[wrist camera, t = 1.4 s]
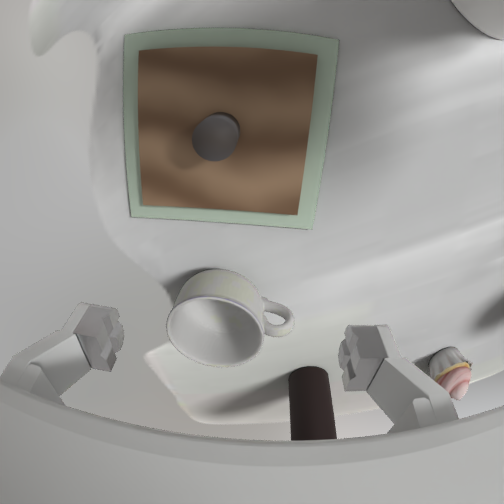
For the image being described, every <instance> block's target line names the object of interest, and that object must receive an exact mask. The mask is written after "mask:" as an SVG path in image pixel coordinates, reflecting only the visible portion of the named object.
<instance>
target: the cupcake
mask: <svg viewBox="0 0 504 504" xmlns="http://www.w3.org/2000/svg"><path fill="white" fill-rule="evenodd" d="M472 364H473V363H472V362H470V361H469V360H467V359H466V358H465V357H464V356H463V355H462V354H461V353H460V351H459V350H458V349H457V348H455V347H448V348H445V349H443V350H441V351H439V352H438V353H436V354H435V355H434V356H433V357H432V358H431V360H430V362H429V371H430V378H431V379H433V380H434V381H435V382H436V383H438V384H439V385H440V386H441V387H443V388H444V389H445V390H446V391H447V392H449V395H450V397H451V398H454V399H456V400H461V399H462V397H463V396H464V395H465V394H466V392H467V390H468V386H469V381H470V378H471V370H472V369H471V368H470V367H471V366H472Z"/></svg>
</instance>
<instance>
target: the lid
mask: <svg viewBox="0 0 504 504" xmlns="http://www.w3.org/2000/svg"><path fill="white" fill-rule="evenodd" d="M317 58H318V55H316V54H309V53H302V52H294V51H285V50H275V49H264V48H249V47H175V48H160V49H149V50H139V56H138V135H139V157H140V173H141V187H142V199H143V205H151V206H172V207H190V208H207V209H223V210H237V211H251V212H264V213H276V214H287V215H298V208H299V202H300V195H301V188H302V181H303V174H304V167H305V160H306V152H307V145H308V137H309V129H310V121H311V113H312V104H313V96H314V87H315V77H316V68H317Z"/></svg>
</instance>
